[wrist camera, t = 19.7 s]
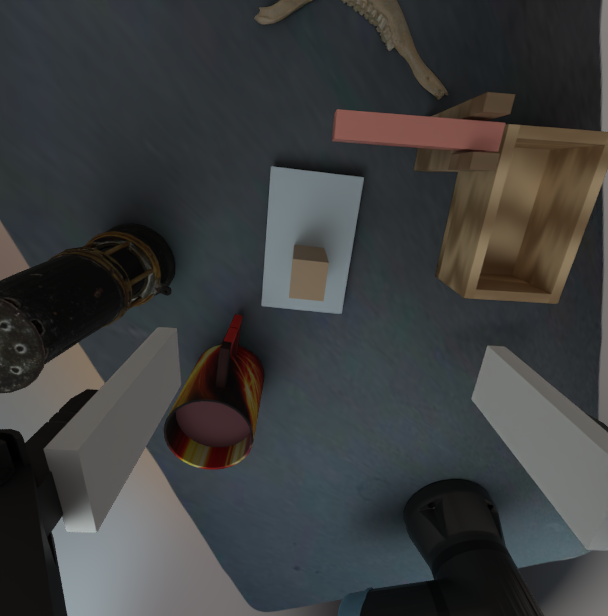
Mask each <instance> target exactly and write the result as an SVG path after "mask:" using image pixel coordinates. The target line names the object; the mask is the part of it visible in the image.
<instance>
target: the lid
mask: <svg viewBox="0 0 608 616" xmlns="http://www.w3.org/2000/svg"><path fill="white" fill-rule="evenodd" d="M363 181H364V177H356V176H348V175H339V174H331V173H323V172H314V171H306V170H298V169H289V168H281V167H273V166H271V174H270V189H269V203H268V218H267V232H266V247H265V261H264V276H263V290H262V305H261V306H266V307H276V308H286V309H296V310H306V311H316V312H327V313H337V314H342V308H343V302H344V296H345V290H346V283H347V277H348V271H349V265H350V259H351V253H352V247H353V241H354V235H355V229H356V223H357V217H358V211H359V205H360V199H361V193H362V187H363Z"/></svg>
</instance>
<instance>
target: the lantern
mask: <svg viewBox="0 0 608 616" xmlns="http://www.w3.org/2000/svg"><path fill="white" fill-rule="evenodd" d="M174 274H175V261H174V257H173V254H172V251H171V249H170V247H169V246H168V244H167V243H166V242H165V240H164V239H163V238H162V237H161V236H160V235H159V234H157V233H156V232H155V231H153V230H152V229H149V228H147V227H144V226H142V225H136V224H126V225H119V226H116V227H114V228H112V229H110V230H109V231H107V232H106V233H101V234H99V235H97V236H95V237H93V238H92V239H91V240H90V241H89V242H88V243H87V244H86V246H83V247H79V248H72V249H66V250H65V251H63V252H61V253H59V254H57V255H55V256H54V257H52V258H51V259H50V260H48V261H47V262H44V263H42V264H39V265H37V266H34V267H32V268H29V269H27V270H24V271H22V272H19V273H17V274H15V275H12V276H10V277H8V278H5V279H3V280H1V281H0V393H10V392H14V391H17V390H19V389H22V388H25V387H27V386H28V385H30V384H31V383H32V382H33V381H34V380H36V379H37V377H38V376H39V374H40V373H41V371H42V369H43V368H44V364H46V363H47V362H49V361H50V360H52V359H53V358H55V357H56V356H58V355H60V354H61V353H63V352H65V351H66V350H68V349H69V348H70V347H72V346H73V345H75V344H76V343H78V342H80V341H81V340H83V339H84V338H86V337H87V336H89V335H91V334H92V333H94V332H95V331H97V330H98V329H100V328H102V327H105V326H108V325H110V324H111V323H113V322H115V321H116V320H118V319H119V318H121V317H122V316H123V315H124V314H125V312H126V311H127V310H128V309H130V308H131V307H134V306H139V305H141V304H144V303H146V302H147V301H149V300H150V299H151V298H152V297H153V296H155V295H157V294H159V293H162V294H164V295H167V296H168V295H170V294H171V288H170V287H168V286H169V285H170V283H171V281H172V279H173V278H174ZM166 290H167V291H166Z"/></svg>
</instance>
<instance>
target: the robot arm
mask: <svg viewBox="0 0 608 616" xmlns="http://www.w3.org/2000/svg"><path fill="white" fill-rule="evenodd" d="M180 386H181V377H180V365H179V352H178V339H177V328H164V327H158V328H157V329H156V330H155V331H154V332H153V333H152V334H151V335H150V336H149V337H148V338H147V339H146V340H145V341H144V342H143V344H142V345H141V346H140V347H139V348H138V349H137V350H136V351H135V352H134V353H133V354H132V355H131V356H130V357H129V358H128V360H127V361H126V362H125V363H124V364H123V365H122V366H121V367H120V368H119V369H118V370H117V371H116V372H115V373H114V374H113V375H112V377H111V378H110V379H109V380H108V381H107V382H106V383H105V384H104V385H103V386H102V387H101V388H100V389H99V390H90V389H87V390H85V391H84V392H82V393H80V394H78V395H77V396H75V397H73V398H71V399H70V400H69V401H68V402H67V403H66V404H65V405H64V406H63V407H62V408H61V409H60V410H59V412H58V413H56V414H55V415H54V416H53V417H52V418H51V419H50V420H49V422H47V423H45V424H44V426H42V427H41V428H40V429H39V430H38V431H37V432H36V433H35V434H34V435H33V436H32V437H31V438H30V439H29V440H28V441H27V442H26V443H24V439H23V437H22V435H21V434H20V432H19V431H15V430H12V429H2V430H1V429H0V616H67V611H66V606H65V600H64V594H63V589H62V583H61V577H60V572H59V566H58V561H57V555H56V549H55V544H54V538H53V535H52V532H51V531H52V530H53V528H54V527H55V526H56V524H57V523H58V521H59V520H60V518H61V517H63V521H64V524H65V528H66V531H67V532H93V533H97V531H98V530H99V527H100V526H101V524H102V522H103V521H104V519H105V517H106V515H107V514H108V512H109V510H110V508H111V507H112V505H113V503H114V501H115V500H116V498H117V496H118V494H119V493H120V491H121V489H122V487H123V485H124V484H125V482H126V480H127V479H128V477H129V475H130V473H131V472H132V470H133V468H134V466H135V465H136V463H137V461H138V459H139V458H140V456H141V454H142V452H143V451H144V449H145V447H146V445H147V444H148V442H149V440H150V438H151V437H152V435H153V433H154V431H155V429H156V428H157V426H158V424H159V422H160V421H161V419H162V417H163V415H164V414H165V412H166V410H167V408H168V407H169V405H170V403H171V401H172V400H173V398H174V396H175V394H176V393H177V391H178V389H179V387H180ZM472 401H473V402H474V403H475V404H476V406H477V407H478V408H479V410H480V411H481V412H482V414H483V415H484V416H485V418H486V419H487V420H488V421H489V423H490V424H491V425H492V427H493V428H494V429H495V431H496V432H497V433H498V435H499V436H500V437H501V438H502V440H503V441H504V442H505V444H506V445H507V446H508V448H509V449H510V450H511V451H512V453H513V454H514V455H515V457H516V458H517V459H518V461H519V462H520V463H521V465H522V466H523V467H524V468H525V470H526V471H527V472H528V474H529V475H530V476H531V478H532V479H533V480H534V482H535V483H536V484H537V485H538V487H539V488H540V489H541V491H542V492H543V493H544V495H545V496H546V497H547V498H548V500H549V501H550V502H551V504H552V505H553V506H554V508H555V509H556V510H557V512H558V513H559V514H560V515H561V517H562V518H563V519H564V521H565V522H566V523H567V525H568V526H569V527H570V528H571V530H572V531H573V532H574V534H575V535H576V536H577V538H578V539H579V540H580V542H581V543H582V544H583V545H584V547H585V548H586V549H587V550H608V427H607V426H606V425H605V424H604V423H602V422H600V421H599V420H597V419H595V418H593V417H592V416H590V415H588V414H586V413H584V412H583V411H582V410H580V409H579V408H578V407H577V406H576V405H574V404H573V403H572V402H571V401H570V400H568V399H567V398H566V397H565V396H564V395H563V394H561V393H560V392H559V391H558V390H557V389H555V388H554V387H553V386H552V385H551V384H549V383H548V382H547V381H546V380H545V379H543V378H542V377H541V376H540V375H539V374H537V373H536V372H535V371H534V370H533V369H531V368H530V367H529V366H528V365H527V364H525V363H524V362H523V361H522V360H521V359H519V358H518V357H517V356H516V355H515V354H513V353H512V352H511V351H510V350H509V349H507V348H506V347H504V346H487V349H486V352H485V356H484V359H483V362H482V366H481V369H480V372H479V376H478V379H477V382H476V386H475V389H474V392H473V396H472ZM404 522H405V525H406V529H407V532H408V535H409V537H410V539H411V540H412V542H413V543H414V545H415V546H416V548H417V549H418V551H419V552H420V554H421V555H422V557H423V558H424V560H425V561H426V563H427V564H428V566H429V567H430V569H431V572H432V574H433V578H434V580H432V581H424V582H417V583H410V584H403V585H396V586H390V587H383V588H376V589H373V588H367V589H366V590H365V591H360V592H355V593H350V594H348V595H346V596H345V597H344V598H343V600H342V602H341V604H340V606H339V610H338V616H544V615H543V613H542V611H541V609H540V608H539V606H538V604H537V602H536V600H535V599H534V597H533V595H532V593H531V592H530V590H529V588H528V586H527V584H526V583H525V581H524V579H523V577H522V575H521V574H520V572H519V570H518V568H517V566H516V565H515V563H514V561H513V559H512V558H511V556H510V554H509V552H508V550H507V548H506V546H505V541H504V537H503V532H502V528H501V523H500V519H499V514H498V511H497V508H496V506H495V504H494V502H493V501H492V499H491V497H490V496H489V494H488V493H487V491H486V490H485V489H484V488H482V487H481V486H479V485H477V484H475V483H473V482H469V481H465V480H446V481H441V482H437V483H434V484H431V485H429V486H427V487H425V488H423V489H421V490H420V491H418V492H417V493H416V494H415V495H414V496H413V497H412V498H411V499H410V500H409V501H408V503H407V505H406V507H405V510H404Z"/></svg>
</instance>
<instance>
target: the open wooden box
mask: <svg viewBox="0 0 608 616" xmlns="http://www.w3.org/2000/svg"><path fill="white" fill-rule="evenodd" d="M489 153H497V154H500V156H499V160H498V164H497V167H496V171H468V172H458V175H457V179H456V184H455V189H454V193H453V198H452V202H451V207H450V211H449V216H448V220H447V225H446V229H445V234H444V239H443V243H442V248H441V252H440V257H439V261H438V266H437V270H436V275H435V276H436V277H437V278H438V279H440V280H441V281H442V282H444V283H445V284H446V285H447V286H449V287H450V288H451V289H453V290H454V291H455V292H457V293H458V294H459V295H461V296H462V297H463V298H471V299H488V300H505V301H521V302H538V303H554V304H558V301H559V298H560V296H561V293H562V290H563V288H564V285H565V282H566V279H567V277H568V274H569V271H570V269H571V266H572V263H573V261H574V258H575V255H576V253H577V250H578V247H579V244H580V242H581V239H582V236H583V234H584V231H585V228H586V226H587V223H588V220H589V218H590V215H591V212H592V209H593V207H594V204H595V201H596V199H597V196H598V193H599V191H600V188H601V185H602V183H603V180H604V177H605V174H606V172H607V169H608V132H602V131H589V130H577V129H564V128H551V127H539V126H526V125H514V124H508V125H505V127H504V131H503V135H502V139H501V143H500V147H499V151H498V152H489Z"/></svg>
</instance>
